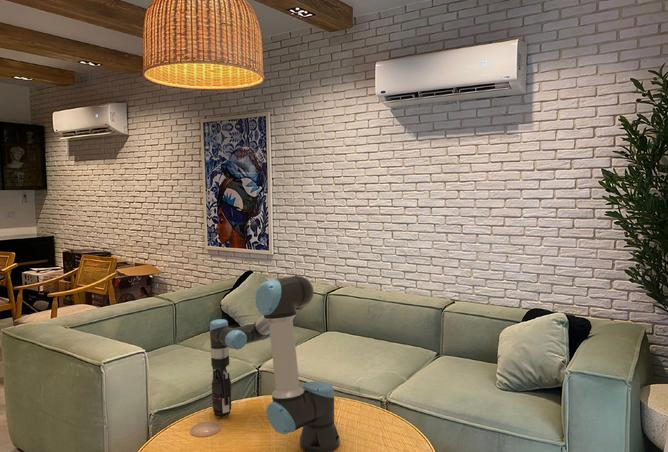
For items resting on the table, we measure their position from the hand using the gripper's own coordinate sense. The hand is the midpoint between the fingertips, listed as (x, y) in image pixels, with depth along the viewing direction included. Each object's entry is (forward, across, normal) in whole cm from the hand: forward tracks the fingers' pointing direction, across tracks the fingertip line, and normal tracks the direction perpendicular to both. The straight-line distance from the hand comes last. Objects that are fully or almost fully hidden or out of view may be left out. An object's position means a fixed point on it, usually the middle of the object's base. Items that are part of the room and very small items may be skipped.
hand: (222, 408), depth 214 cm
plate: (+4, -8, +10) cm, 13 cm away
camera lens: (+3, 0, 0) cm, 3 cm away
